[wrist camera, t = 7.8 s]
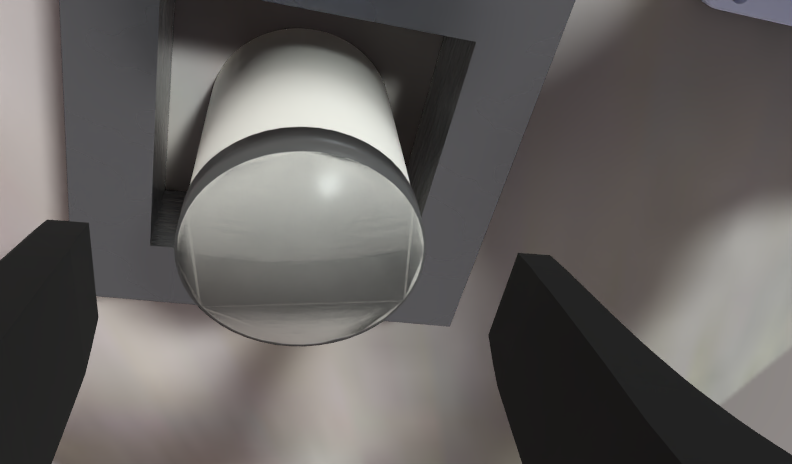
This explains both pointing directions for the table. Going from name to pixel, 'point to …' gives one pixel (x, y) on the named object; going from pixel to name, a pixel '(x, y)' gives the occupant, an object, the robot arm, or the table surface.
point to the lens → (299, 196)
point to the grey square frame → (427, 168)
